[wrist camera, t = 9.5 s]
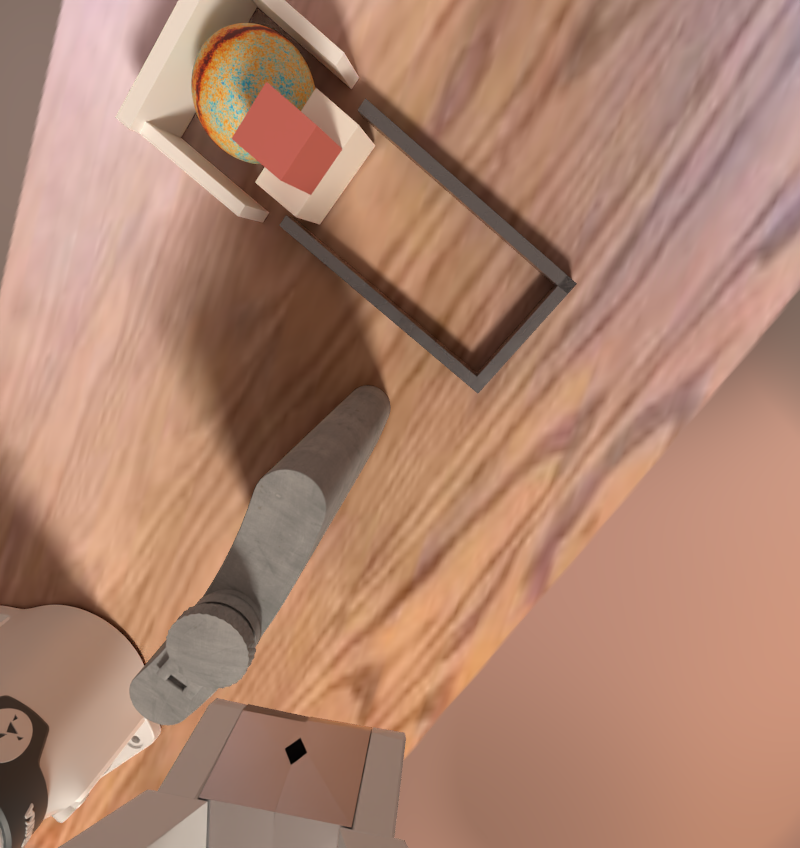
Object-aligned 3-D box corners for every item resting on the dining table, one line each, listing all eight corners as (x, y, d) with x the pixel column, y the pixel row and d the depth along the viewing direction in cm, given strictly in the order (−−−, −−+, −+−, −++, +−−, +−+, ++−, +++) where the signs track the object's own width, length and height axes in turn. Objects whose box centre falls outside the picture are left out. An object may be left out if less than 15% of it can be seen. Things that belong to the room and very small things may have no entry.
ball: (351, 125, 35) (321, 90, 28) (269, 196, 36) (222, 178, 30) (285, 25, 34) (237, -37, 27) (203, 103, 35) (140, 63, 29)
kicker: (319, 224, 36) (263, 206, 27) (284, 194, 36) (214, 165, 26) (375, 145, 34) (336, 96, 25) (338, 113, 34) (284, 51, 25)
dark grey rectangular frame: (477, 389, 38) (477, 393, 36) (286, 227, 37) (279, 225, 35) (572, 283, 35) (577, 283, 34) (370, 105, 34) (365, 98, 33)
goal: (262, 222, 37) (231, 214, 32) (162, 138, 36) (115, 117, 32) (359, 77, 34) (339, 45, 29) (251, -17, 33) (213, -66, 28)
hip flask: (362, 376, 39) (251, 475, 20) (409, 408, 39) (343, 538, 20) (256, 537, 44) (83, 743, 24) (298, 565, 44) (159, 792, 25)
